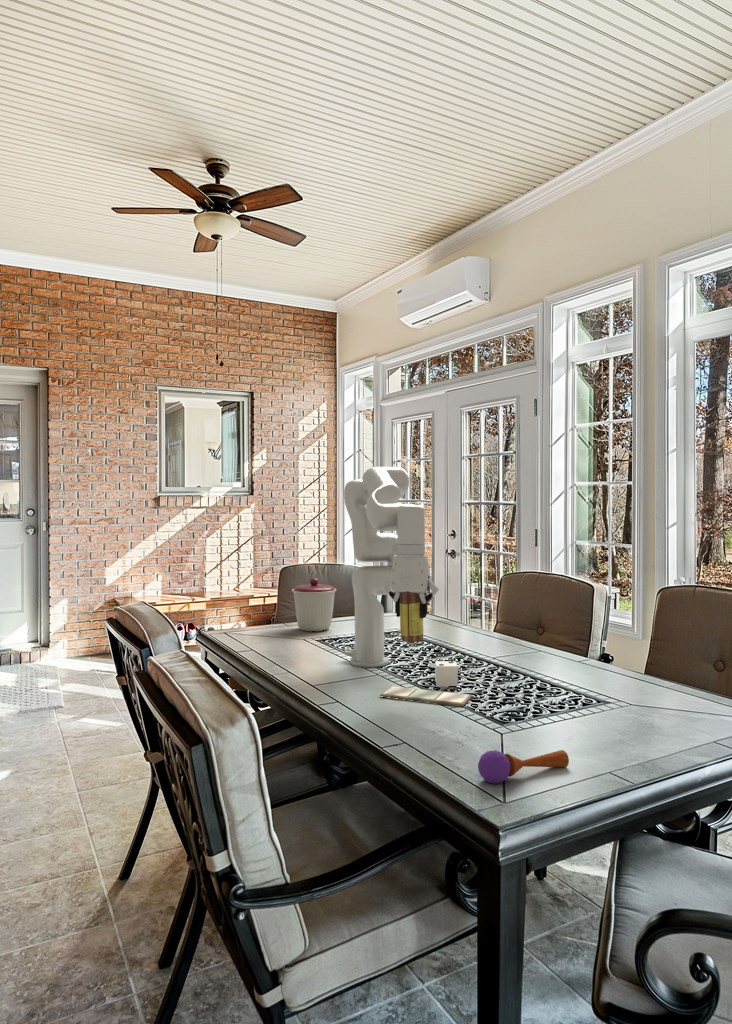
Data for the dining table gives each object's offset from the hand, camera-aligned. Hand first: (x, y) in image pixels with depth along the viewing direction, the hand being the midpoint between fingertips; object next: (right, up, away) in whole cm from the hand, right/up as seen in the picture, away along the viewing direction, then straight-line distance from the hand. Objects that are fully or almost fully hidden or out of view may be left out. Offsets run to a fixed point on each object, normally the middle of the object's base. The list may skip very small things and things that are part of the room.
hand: (411, 616), depth 187 cm
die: (+11, -22, +13) cm, 27 cm away
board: (+4, -22, -1) cm, 22 cm away
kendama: (+18, -23, -52) cm, 60 cm away
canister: (-33, -20, +95) cm, 103 cm away
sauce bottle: (0, -7, 0) cm, 7 cm away
